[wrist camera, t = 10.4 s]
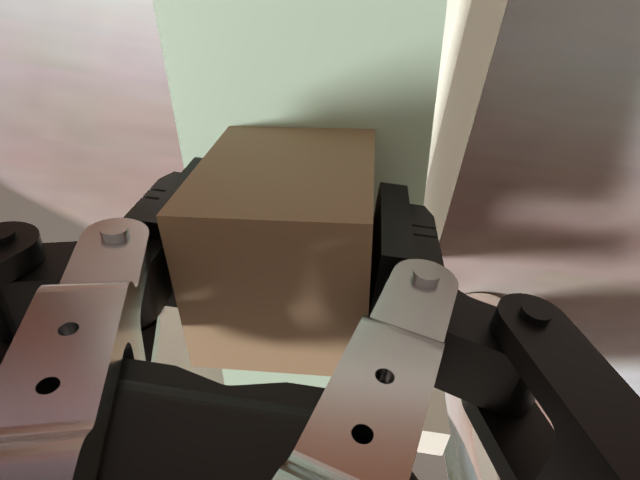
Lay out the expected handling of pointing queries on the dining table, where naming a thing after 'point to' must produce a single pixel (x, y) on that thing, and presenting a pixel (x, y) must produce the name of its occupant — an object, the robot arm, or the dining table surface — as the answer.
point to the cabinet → (443, 169)
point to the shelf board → (306, 80)
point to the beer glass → (468, 434)
